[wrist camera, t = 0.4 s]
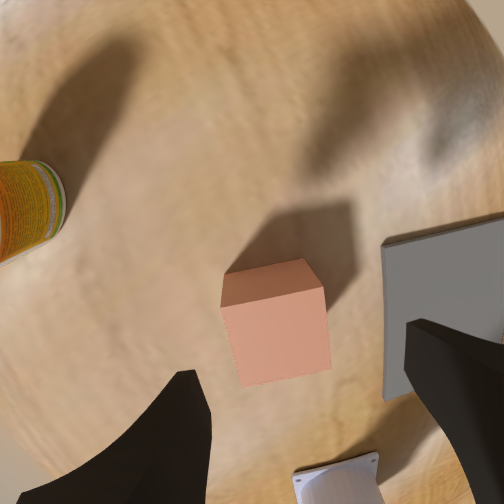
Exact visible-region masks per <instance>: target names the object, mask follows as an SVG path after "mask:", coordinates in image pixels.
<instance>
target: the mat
mask: <svg viewBox="0 0 504 504" xmlns="http://www.w3.org/2000/svg"><path fill="white" fill-rule="evenodd" d="M381 257H382V272H383V294H384V373H383V393H382V397H383V399H384V401H388V400H391V399H394V398H397V397H400V396H402V395H405V394H408V393H411V392H413V391H415V390H414V389H413V387H412V385H411V383H410V381H409V379H408V377H407V375H406V373H405V371H404V358H405V342H406V323H407V322H410V321H413V320H417V319H420V318H423V319H426V320H430V321H433V322H436V323H439V324H441V325H444V326H447V327H450V328H452V329H455V330H458V331H461V332H463V333H466V334H469V335H472V336H475V337H478V338H481V339H485V340H488V341H492V342H495V343H499V344H501V343H502V339H503V334H504V217H501V218H497V219H493V220H489V221H485V222H481V223H477V224H473V225H468V226H464V227H460V228H456V229H452V230H448V231H443V232H439V233H435V234H431V235H426V236H422V237H418V238H413V239H409V240H405V241H400V242H396V243H391V244H387V245H382V246H381Z"/></svg>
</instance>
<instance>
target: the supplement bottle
mask: <svg viewBox="0 0 504 504" xmlns="http://www.w3.org/2000/svg"><path fill="white" fill-rule="evenodd" d="M65 210H66V198H65V192H64V188H63V185H62V183H61V180H60V178H59V177H58V175H57V173H56V172H55V171H54V170H53V169H52V168H51V167H50V166H49V165H47V164H46V163H43V162H41V161H36V160H22V161H5V162H0V268H1V267H3V266H5V265H6V264H8V263H10V262H12V261H14V260H16V259H18V258H20V257H22V256H24V255H26V254H28V253H30V252H32V251H34V250H36V249H38V248H40V247H42V246H44V245H46V244H47V243H49V242H50V241H51V240H53V238H54V237H55V236H56V235H57V233H58V232H59V230H60V228H61V226H62V224H63V220H64V217H65Z"/></svg>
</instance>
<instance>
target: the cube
mask: <svg viewBox="0 0 504 504" xmlns="http://www.w3.org/2000/svg"><path fill="white" fill-rule="evenodd" d="M220 308H221V312H222V316H223V320H224V324H225V327H226V331H227V335H228V338H229V342H230V346H231V349H232V353H233V357H234V360H235V364H236V367H237V371H238V374H239V378H240V381H241V385H242V387H247V386H253V385H258V384H264V383H269V382H274V381H279V380H284V379H289V378H294V377H298V376H303V375H307V374H312V373H316V372H320V371H324V370H328V369H332V364H331V352H330V342H329V332H328V322H327V313H326V304H325V296H324V288H323V285H322V284H321V282H320V281H319V280H318V278H317V277H316V275H315V274H314V272H313V271H312V270H311V268H310V267H309V265H308V264H307V263H306V261H305V260H304V258H301V259H296V260H291V261H287V262H282V263H277V264H272V265H267V266H262V267H257V268H253V269H248V270H243V271H238V272H233V273H228V274H224V279H223V288H222V297H221V306H220Z"/></svg>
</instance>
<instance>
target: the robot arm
mask: <svg viewBox="0 0 504 504" xmlns="http://www.w3.org/2000/svg"><path fill="white" fill-rule="evenodd" d="M404 371H405V373H406V375H407V377H408V379H409V381H410V383H411V385H412V387H413V389H414V390H415V392H416V393H417V395H418V396H419V398H420V399H421V400H422V402H423V403H424V405H425V406H426V407H427V409H428V410H429V412H430V413H431V414H432V416H433V417H434V419H435V420H436V421H437V423H438V424H439V426H440V427H441V428H442V430H443V431H444V433H445V434H446V436H447V437H448V439H449V441H450V443H451V445H452V447H453V448H454V450H455V452H456V455H457V457H458V459H459V461H460V463H461V465H462V468H463V470H464V472H465V474H466V477H467V479H468V482H469V485H470V487H471V490H472V493H473V496H474V499H475V502H476V504H504V345H503V344H499V343H495V342H492V341H488V340H485V339H481V338H478V337H475V336H472V335H469V334H466V333H463V332H461V331H458V330H455V329H452V328H450V327H447V326H444V325H441V324H439V323H436V322H433V321H430V320H426V319H423V318H420V319H417V320H413V321H410V322H407V323H406V342H405V358H404ZM211 441H212V423H211V412H210V409H209V406H208V404H207V401H206V398H205V396H204V393H203V390H202V388H201V385H200V382H199V379H198V377H197V374H196V371H195V369H194V370H187V371H179V372H177V373H176V374H175V375H174V376H173V378H172V379H171V380H170V381H169V383H168V384H167V385H166V386H165V388H164V389H163V390H162V391H161V393H160V394H159V395H158V396H157V397H156V399H155V400H154V401H153V402H152V403H151V405H150V406H149V407H148V408H147V409H146V411H145V412H144V413H143V414H142V415H141V416H140V417H139V418H138V419H137V420H136V421H135V422H134V423H133V424H132V425H131V427H130V428H129V429H128V430H127V431H126V432H124V433H123V434H122V435H121V436H120V437H119V438H118V439H117V440H116V441H114V442H113V443H112V444H111V445H110V446H108V447H107V448H106V449H105V450H103V451H102V452H101V453H99V454H98V455H96V456H95V457H94V458H92V459H91V460H89V461H88V462H86V463H85V464H83V465H82V466H80V467H79V468H77V469H75V470H73V471H72V472H70V473H68V474H66V475H64V476H62V477H60V478H58V479H56V480H54V481H52V482H50V483H48V484H45V485H42V486H40V487H37V488H34V489H32V490H29V491H26V492H23V493H21V495H20V497H19V499H18V501H17V503H16V504H205V497H206V485H207V476H208V468H209V459H210V450H211ZM378 460H379V454H378V452H372V453H369V454H366V455H363V456H360V457H356V458H353V459H349V460H346V461H342V462H339V463H335V464H331V465H327V466H323V467H319V468H315V469H310V470H306V471H301V472H296V473H294V474H293V475H292V480H293V484H294V488H295V492H296V497H297V501H298V504H385V502H384V500H383V497H382V495H381V492H380V490H379V487H378V485H377V483H376V480H375V479H376V473H377V467H378Z"/></svg>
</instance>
